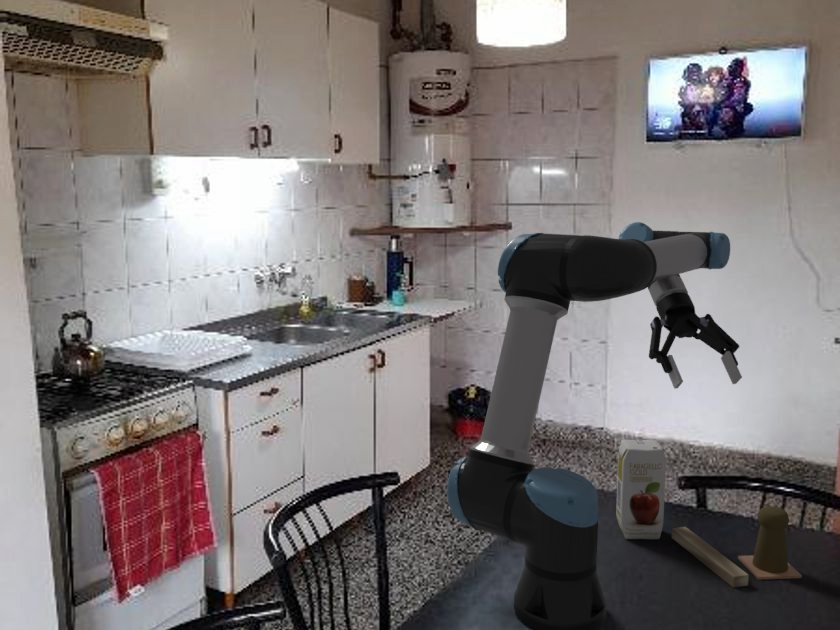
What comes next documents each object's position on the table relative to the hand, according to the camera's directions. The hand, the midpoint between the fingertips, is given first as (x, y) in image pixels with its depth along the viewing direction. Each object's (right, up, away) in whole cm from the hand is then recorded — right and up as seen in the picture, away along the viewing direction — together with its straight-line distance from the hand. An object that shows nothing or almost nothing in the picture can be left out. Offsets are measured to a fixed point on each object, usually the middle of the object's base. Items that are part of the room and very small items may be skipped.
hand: (708, 383), depth 158 cm
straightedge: (-5, -32, -13) cm, 35 cm away
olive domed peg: (+5, -32, -16) cm, 37 cm away
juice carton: (-15, -31, -1) cm, 34 cm away
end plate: (+5, -33, -16) cm, 37 cm away
